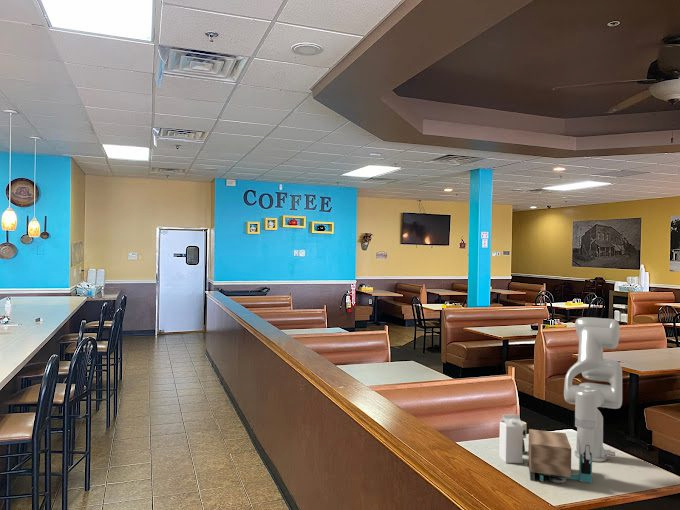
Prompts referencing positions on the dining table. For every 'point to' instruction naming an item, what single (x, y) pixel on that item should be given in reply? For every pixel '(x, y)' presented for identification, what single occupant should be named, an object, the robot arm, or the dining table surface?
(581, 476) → the scraper
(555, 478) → the grey flat disc
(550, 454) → the cabinet
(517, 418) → the milk carton
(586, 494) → the dining table surface
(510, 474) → the dining table surface
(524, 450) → the character mug
